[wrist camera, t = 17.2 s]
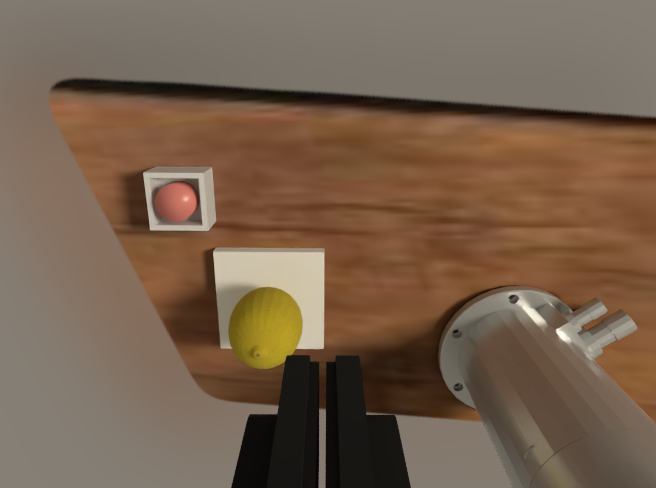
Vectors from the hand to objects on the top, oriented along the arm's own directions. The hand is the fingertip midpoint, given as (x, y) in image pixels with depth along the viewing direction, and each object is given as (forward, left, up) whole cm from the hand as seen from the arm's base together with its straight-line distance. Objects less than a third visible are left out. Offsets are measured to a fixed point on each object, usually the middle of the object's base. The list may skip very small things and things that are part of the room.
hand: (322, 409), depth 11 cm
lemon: (+10, +5, -26) cm, 29 cm away
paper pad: (+10, +5, -27) cm, 29 cm away
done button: (+10, -6, -26) cm, 28 cm away
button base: (+10, -6, -27) cm, 29 cm away
